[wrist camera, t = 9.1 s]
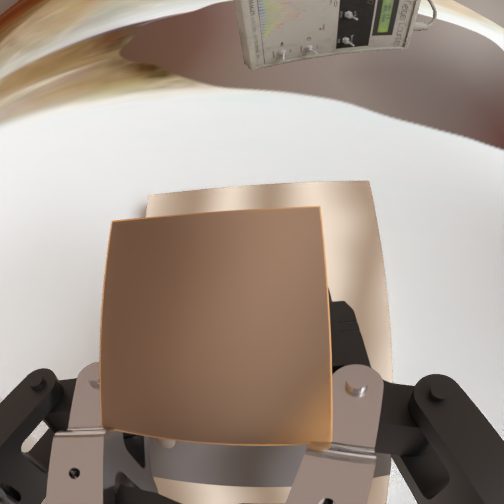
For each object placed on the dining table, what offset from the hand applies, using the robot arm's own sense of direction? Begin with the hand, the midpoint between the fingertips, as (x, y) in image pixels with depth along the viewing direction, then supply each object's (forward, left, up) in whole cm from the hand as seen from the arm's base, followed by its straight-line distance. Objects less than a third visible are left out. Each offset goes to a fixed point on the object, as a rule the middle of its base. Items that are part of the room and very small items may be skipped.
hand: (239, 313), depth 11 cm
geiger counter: (-11, -30, -10) cm, 33 cm away
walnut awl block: (0, +1, -6) cm, 6 cm away
